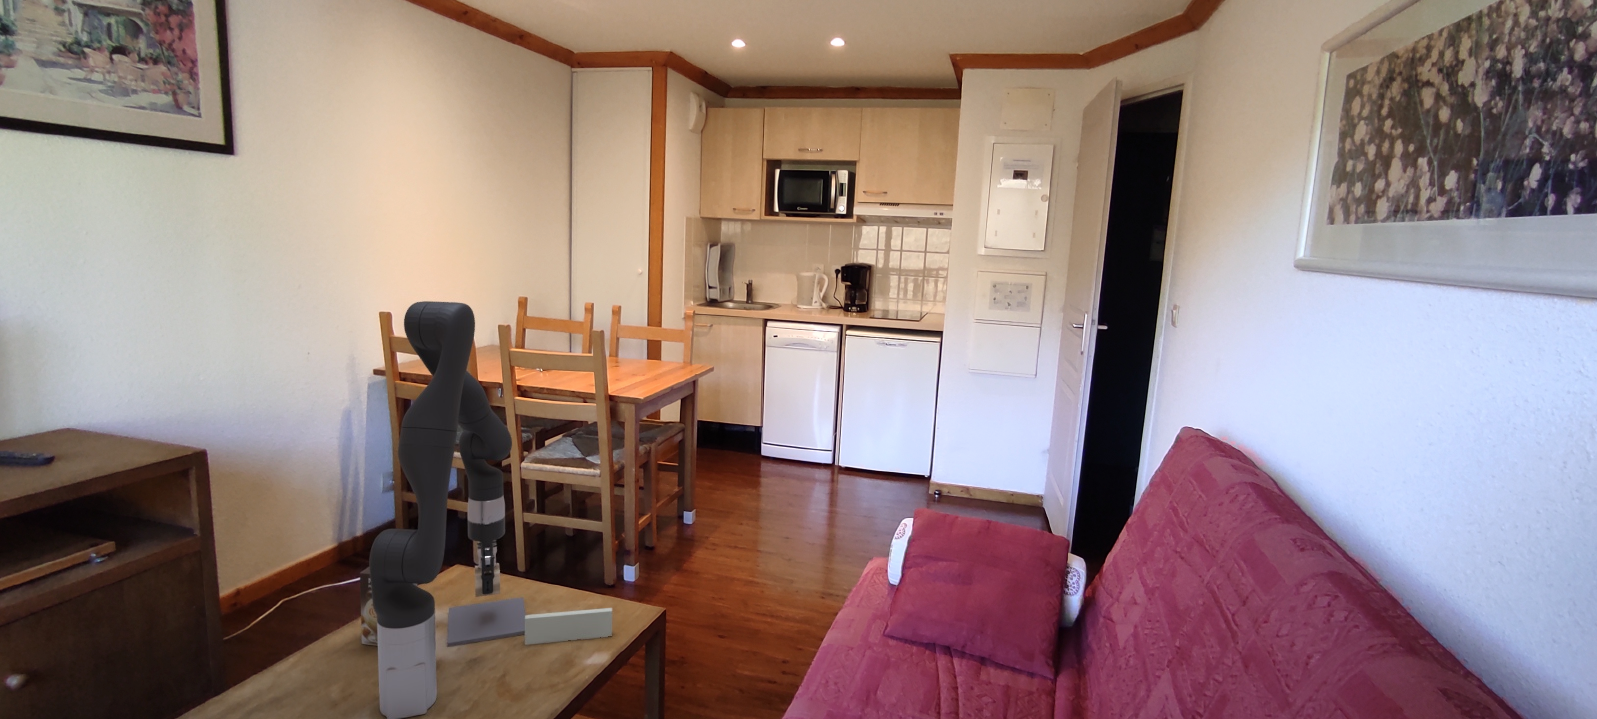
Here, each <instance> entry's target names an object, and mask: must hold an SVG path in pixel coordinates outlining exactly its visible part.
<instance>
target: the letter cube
mask: <svg viewBox="0 0 1597 719" xmlns="http://www.w3.org/2000/svg"><path fill="white" fill-rule="evenodd" d="M500 571H501V570H500V563H499V562H496V566H495V567H494V574H495V577H494V579H493V593H492V594H485V595H484V594H482V578H481V575H482V573H481V568H479V565H474V588H475V589H474V594H475V596H474V597H475V598H480V597H485V596H487V597H488V596H493V595H501V572H500ZM489 572H491V571H485V572H484V573H489Z"/></svg>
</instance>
